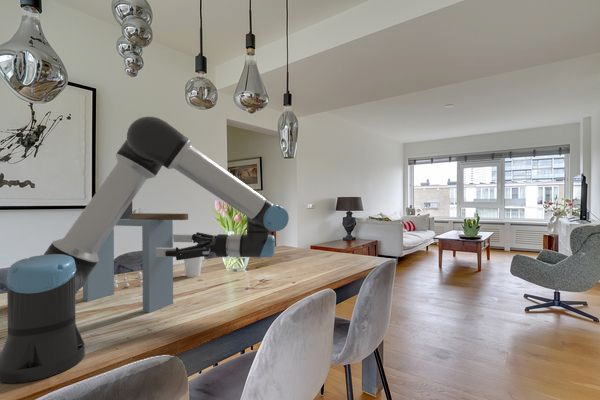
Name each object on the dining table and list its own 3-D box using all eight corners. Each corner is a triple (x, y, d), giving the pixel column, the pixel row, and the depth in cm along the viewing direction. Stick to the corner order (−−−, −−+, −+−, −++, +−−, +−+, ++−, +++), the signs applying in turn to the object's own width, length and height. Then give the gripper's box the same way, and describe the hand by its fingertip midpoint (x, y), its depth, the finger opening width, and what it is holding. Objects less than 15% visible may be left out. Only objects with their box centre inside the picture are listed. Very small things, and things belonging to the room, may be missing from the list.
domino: (119, 219, 112) (119, 191, 112) (116, 219, 112) (116, 191, 113) (132, 218, 116) (132, 191, 116) (129, 218, 117) (129, 191, 117)
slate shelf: (149, 312, 102) (148, 220, 103) (82, 300, 116) (82, 219, 116) (173, 303, 112) (172, 218, 112) (109, 293, 125) (108, 217, 125)
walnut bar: (181, 220, 102) (181, 213, 102) (129, 219, 111) (129, 213, 111) (188, 219, 104) (188, 213, 104) (137, 218, 114) (137, 213, 114)
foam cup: (178, 277, 151) (178, 250, 151) (190, 273, 160) (190, 247, 160) (195, 278, 148) (195, 250, 148) (207, 274, 157) (206, 248, 157)
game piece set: (127, 277, 153) (126, 269, 153) (166, 278, 151) (166, 270, 151) (97, 288, 134) (97, 279, 134) (142, 289, 132) (142, 280, 132)
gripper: (219, 271, 94) (148, 270, 94) (236, 243, 119) (180, 242, 119) (218, 248, 93) (146, 246, 93) (235, 224, 117) (179, 223, 117)
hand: (165, 244), depth 106 cm, fingers open, 13 cm apart
